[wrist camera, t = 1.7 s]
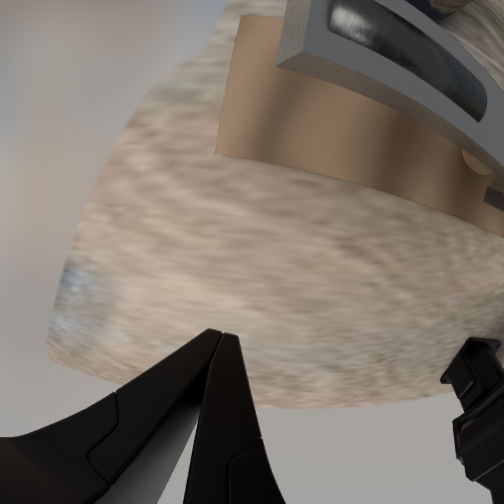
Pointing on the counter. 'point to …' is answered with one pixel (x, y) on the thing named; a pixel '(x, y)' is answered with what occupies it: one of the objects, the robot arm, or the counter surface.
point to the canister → (438, 7)
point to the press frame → (494, 198)
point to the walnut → (475, 164)
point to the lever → (398, 68)
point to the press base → (341, 133)
